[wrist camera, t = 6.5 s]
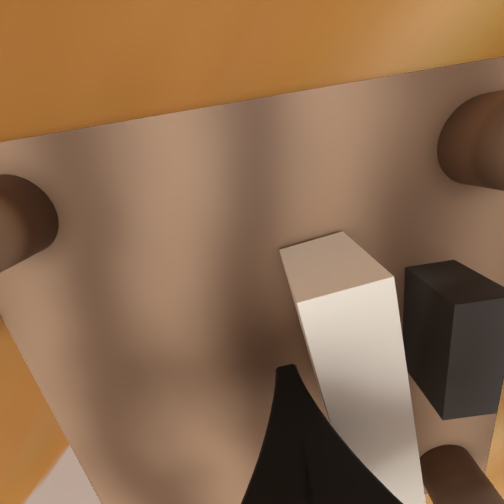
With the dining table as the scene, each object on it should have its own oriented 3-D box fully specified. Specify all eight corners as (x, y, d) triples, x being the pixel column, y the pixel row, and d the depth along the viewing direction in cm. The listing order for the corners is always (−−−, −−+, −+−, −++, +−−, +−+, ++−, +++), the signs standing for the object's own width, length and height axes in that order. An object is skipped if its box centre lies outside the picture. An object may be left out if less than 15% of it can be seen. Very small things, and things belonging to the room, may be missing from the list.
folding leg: (397, 473, 16) (444, 575, 12) (340, 486, 16) (368, 589, 12) (351, 228, 11) (408, 272, 7) (270, 252, 11) (283, 306, 7)
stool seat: (502, 65, 12) (746, -10, 6) (453, 444, 19) (540, 568, 14) (-23, 154, 12) (-248, 162, 7) (132, 486, 20) (87, 621, 14)
